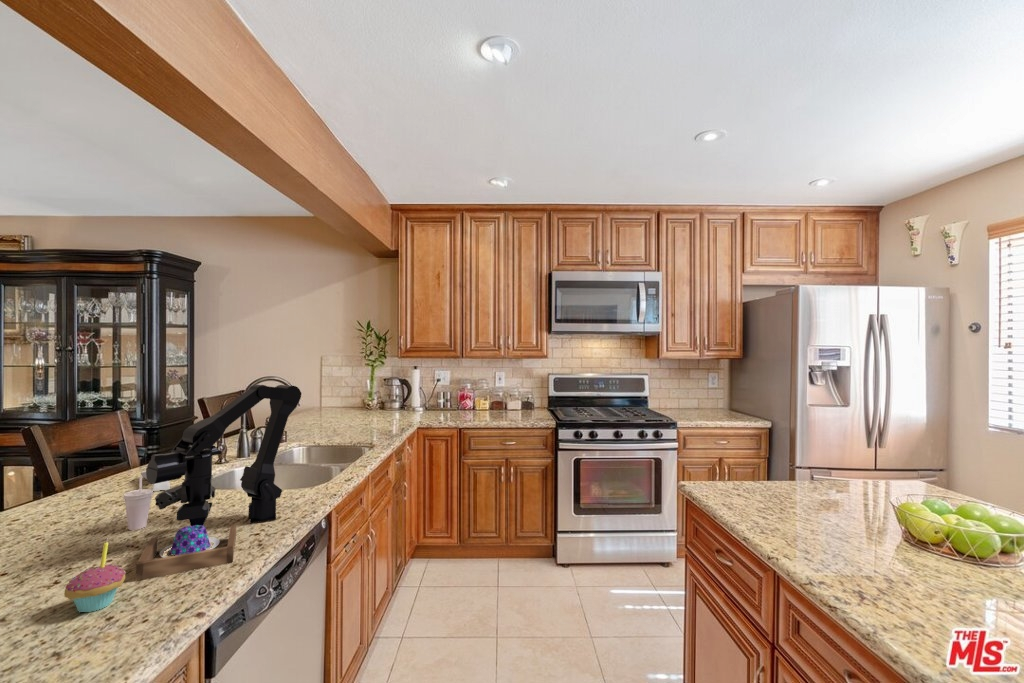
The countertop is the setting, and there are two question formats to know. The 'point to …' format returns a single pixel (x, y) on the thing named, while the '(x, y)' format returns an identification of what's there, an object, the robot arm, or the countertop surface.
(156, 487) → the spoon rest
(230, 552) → the bay
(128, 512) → the smoothie
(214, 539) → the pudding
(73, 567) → the countertop surface
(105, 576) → the cupcake
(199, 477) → the robot arm
